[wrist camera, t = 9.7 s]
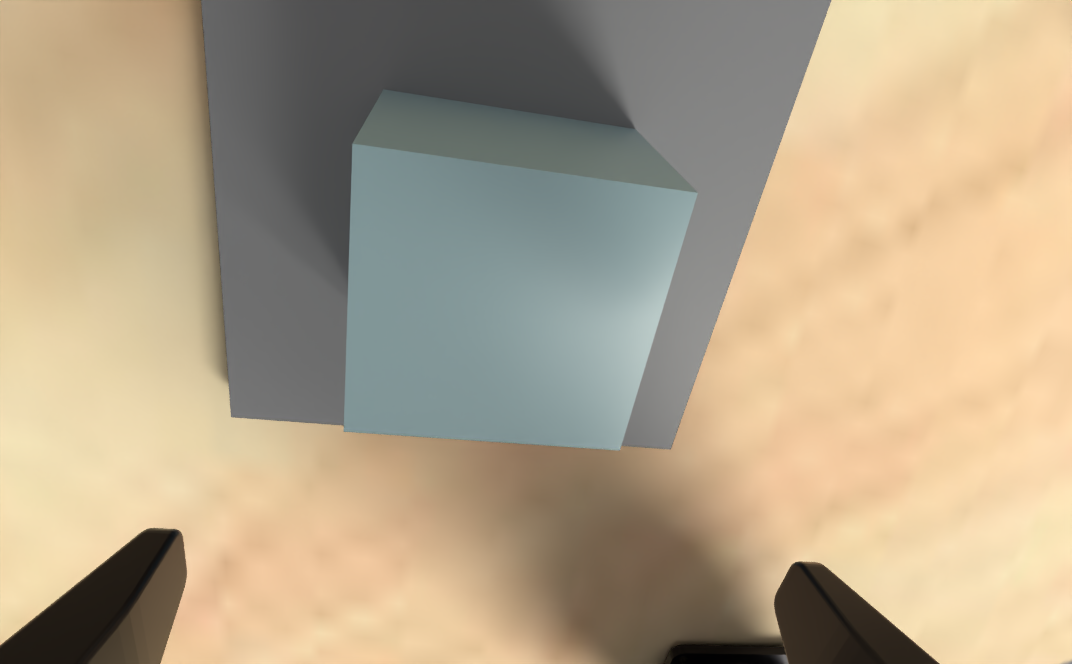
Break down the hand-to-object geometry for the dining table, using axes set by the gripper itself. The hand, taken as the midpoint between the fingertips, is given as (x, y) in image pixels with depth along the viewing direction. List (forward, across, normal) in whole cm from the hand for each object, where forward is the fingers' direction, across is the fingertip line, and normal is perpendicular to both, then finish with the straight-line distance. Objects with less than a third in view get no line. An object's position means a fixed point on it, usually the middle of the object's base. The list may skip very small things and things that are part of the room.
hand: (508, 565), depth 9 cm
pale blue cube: (+10, 0, -2) cm, 10 cm away
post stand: (+11, 0, -2) cm, 11 cm away
